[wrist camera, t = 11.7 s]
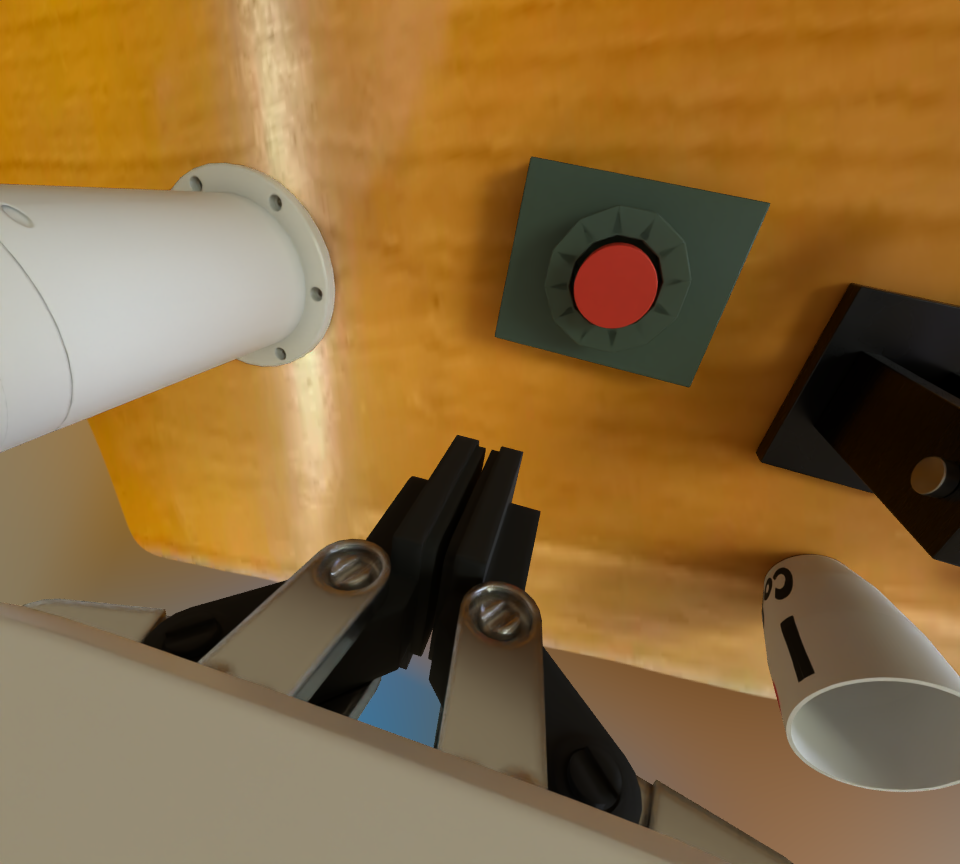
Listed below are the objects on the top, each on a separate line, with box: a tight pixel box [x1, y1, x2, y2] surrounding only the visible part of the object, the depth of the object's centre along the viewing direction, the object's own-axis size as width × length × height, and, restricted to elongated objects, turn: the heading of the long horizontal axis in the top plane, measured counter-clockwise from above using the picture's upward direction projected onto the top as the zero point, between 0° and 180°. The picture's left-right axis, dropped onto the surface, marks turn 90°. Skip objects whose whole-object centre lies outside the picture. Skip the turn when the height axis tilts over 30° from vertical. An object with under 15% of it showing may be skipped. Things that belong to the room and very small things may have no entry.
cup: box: [762, 555, 960, 792], centre depth 26 cm, size 8×8×10 cm
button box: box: [495, 157, 770, 387], centre depth 23 cm, size 11×9×4 cm
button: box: [574, 242, 658, 329], centre depth 21 cm, size 4×4×2 cm
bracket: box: [756, 283, 960, 567], centre depth 19 cm, size 10×8×12 cm
